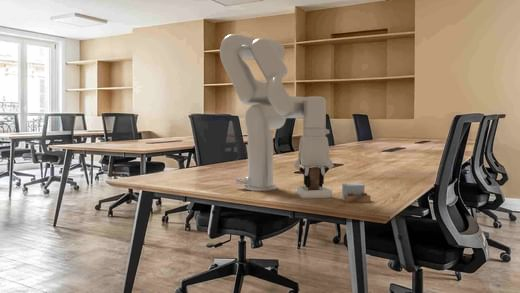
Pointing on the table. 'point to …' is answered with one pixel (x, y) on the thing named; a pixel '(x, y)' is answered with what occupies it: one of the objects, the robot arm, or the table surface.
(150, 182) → the table surface
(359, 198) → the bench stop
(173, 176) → the table surface
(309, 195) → the tray
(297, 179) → the table surface
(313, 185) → the dowel
